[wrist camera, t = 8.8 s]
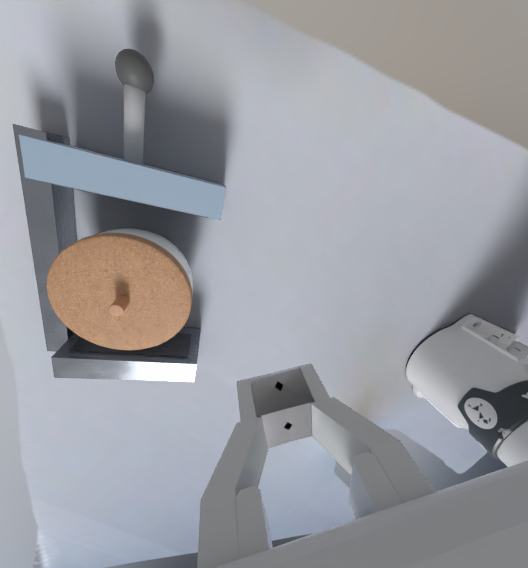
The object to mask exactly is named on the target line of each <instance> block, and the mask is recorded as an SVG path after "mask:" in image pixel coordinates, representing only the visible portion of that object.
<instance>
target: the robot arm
mask: <svg viewBox="0 0 528 568" xmlns="http://www.w3.org/2000/svg"><path fill="white" fill-rule="evenodd" d="M527 355H528V347H527V346H526V345H524V344H522V343H520V342H518V336H516V335H515V334H513V333H511V332H509V331H507V330H505V329H503V328H501V327H498V326H496V325H494V324H492V323H490V322H487V321H485V320H483V319H481V318H479V317H476V316H474V315H472V314H469V315H467V316H465V317H463V318H462V319H460V320H459V321H458V322H456V323H455V324H454V325H452V326H450V327H447V328H445V329H443V330H441V331H439V332H437V333H435V334H433V335H432V336H430V337H429V338H428V339H426V340H425V341H424V342H423V343H422V344H421V345H420V346H419V347H418V348H417V349H416V350H415V352H414V353H413V355H412V356H411V358H410V360H409V362H408V365H407V369H406V375H407V378H408V380H409V381H410V382H411V383H412V385H413V392H414V394H415V395H416V396H417V397H419V398H423V397H425V398H426V399H427V400H428V401H429V402H430V403H431V404H432V405H433V406H434V407H435V408H437V409H438V410H439V411H440V412H441V413H442V414H443V415H444V416H445V417H446V418H447V419H448V420H450V421H451V422H452V423H453V424H454V425H455V426H457V427H459V428H464V429H468V430H469V433H470V434H471V435H472V436H473V437H474V438H475V439H476V440H477V441H478V443H479V444H480V445H481V446H482V447H483V448H484V449H485V450H486V451H488V452H489V453H490V454H491V455H492V456H493V457H494V458H496V459H498V460H501V461H502V462H503V463H504V464H506V466H507V468H504V469H501V470H498V471H495V472H493V473H490V474H487V475H484V476H481V477H478V478H475V479H472V480H469V481H466V482H463V483H460V484H458V485H455V486H452V487H449V488H446V489H443V490H440V491H437V492H436V491H435V490H434V488H433V487H432V486H431V484H430V483H429V481H428V480H427V478H426V477H425V476H424V474H423V473H422V471H421V470H420V468H419V467H418V466H417V464H416V463H415V461H414V460H413V459H412V457H411V456H410V454H409V453H408V451H407V450H406V449H405V447H404V446H403V444H402V443H401V442H400V440H398V439H397V438H395V437H394V436H392V435H391V434H389V433H388V432H386V431H385V430H383V429H382V428H380V427H378V426H377V425H375V424H374V423H372V422H371V421H369V420H368V419H366V418H365V417H363V416H362V415H360V414H359V413H357V412H356V411H354V410H352V409H351V408H349V407H348V406H346V405H345V404H343V403H342V402H340V401H339V400H337V399H336V398H334V397H333V398H330V397H329V395H328V393H327V392H326V390H325V388H324V386H323V384H322V382H321V380H320V378H319V376H318V375H317V373H316V371H315V369H314V367H313V365H312V364H311V363H310V364H306V365H302V366H299V367H298V366H297V367H294V368H290V369H286V370H282V371H278V372H274V373H271V374H267V375H262V376H257V377H253V378H249V379H244V380H240V381H237V391H238V400H239V410H240V419H241V422H239V423H237V424H236V426H235V428H234V430H233V432H232V434H231V436H230V439H229V441H228V443H227V445H226V447H225V449H224V451H223V454H222V456H221V458H220V460H219V462H218V464H217V466H216V468H215V471H214V473H213V475H212V477H211V479H210V481H209V483H208V486H207V488H206V490H205V492H204V494H203V496H202V498H201V503H200V524H199V545H198V567H197V568H528V356H527ZM250 380H251V381H250ZM310 436H312V437H313V438H314V439H315V440H316V441H317V442H318V443H319V444H320V445H321V446H322V447H323V448H324V449H325V450H326V451H327V452H328V453H329V454H330V455H331V456H332V457H333V458H334V459H335V460H336V461H337V462H338V463H339V464H340V465H341V466H343V468H344V469H346V470H347V472H349V473H350V474H351V475H352V477H351V485H350V494H349V503H350V506H351V508H352V510H353V513H354V515H355V518H356V519H355V520H353V521H350V522H347V523H344V524H341V525H338V526H335V527H332V528H329V529H326V530H323V531H320V532H318V533H315V534H312V535H309V536H306V537H303V538H300V539H297V540H294V541H291V542H288V543H286V544H283V545H280V546H277V547H274V548H273V547H272V541H271V535H270V529H269V524H268V520H267V516H266V512H265V508H264V504H263V500H262V496H261V492H260V490H259V489H258V485H259V482H260V478H261V474H262V470H263V467H264V463H265V459H266V455H267V452H268V448H271V447H274V446H277V445H281V444H284V443H287V442H290V441H294V440H298V439H302V438H306V437H310Z"/></svg>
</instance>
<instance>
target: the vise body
mask: <svg viewBox="0 0 528 568" xmlns="http://www.w3.org/2000/svg"><path fill="white" fill-rule="evenodd" d="M13 130H14V136H15V143H16V149H17V156H18V163H19V169H20V176H21V182H22V189H23V195H24V202H25V208H26V215H27V221H28V228H29V235H30V241H31V248H32V254H33V261H34V267H35V274H36V280H37V287H38V294H39V300H40V307H41V313H42V320H43V326H44V333H45V339H46V346H47V351H56V353H55V354H54V355H53V356H52V357H51V358H52V365H53V372H54V378H87V379H120V380H153V381H187V382H194V378H195V372H196V366H197V357H198V348H199V339H200V331H201V329H200V328H189V327H182V329H181V330H180V331H179V332H178V333H177V334H176V335H175V336H174V337H172V338H171V339H169V340H168V341H166V342H164V343H162V344H159V345H157V346H154V347H150V348H146V349H141V350H117V349H111V348H107V347H103V346H99V345H97V344H94V343H92V342H90V341H88V340H86V339H84V338H82V337H80V336H79V335H77V334H76V333H74V332H73V331H72V330H70V329H69V328H68V327H67V326H66V325H65V324H64V323H63V322H62V321H61V320H60V318H59V317H58V316H57V314H56V313H55V311H54V310H53V308H52V306H51V303H50V300H49V298H48V293H47V275H48V272H49V268H50V266H51V264H52V262H53V261H54V259H55V258H56V257H57V255H58V254H59V253H60V252H61V251H62V250H64V249H65V248H66V247H68V246H69V245H70V244H72V243H74V242H76V241H77V238H76V225H75V211H74V198H73V189H72V188H68V187H63V186H58V185H54V184H52V183H48V182H43V181H39V180H34V179H30V178H25V174H24V167H23V160H22V153H21V146H20V139H19V135H23V136H27V137H32V138H37V139H42V140H47V141H51V142H56V143H61V144H66V145H70V143H69V138H65V137H62V136H58V135H54V134H50V133H46V132H43V131H39V130H35V129H31V128H27V127H23V126H19V125H15V124H13Z"/></svg>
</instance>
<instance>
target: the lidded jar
mask: <svg viewBox="0 0 528 568" xmlns="http://www.w3.org/2000/svg"><path fill="white" fill-rule="evenodd" d="M47 293H48V298H49V300H50V303H51V306H52V308H53V310H54V311H55V313H56V314H57V316H58V317H59V318H60V320H61V321H62V322H63V323H64V324H65V325H66V326H67V327H68V328H69V329H70V330H72V331H73V332H74V333H76V334H77V335H79V336H80V337H82V338H84V339H86V340H88V341H90V342H92V343H94V344H97V345H99V346H103V347H107V348H111V349H117V350H141V349H146V348H150V347H154V346H157V345H159V344H162V343H164V342H166V341H168V340H169V339H171V338H172V337H174V336H175V335H176V334H177V333H178V332H179V331H180V330H181V329H182V327H183V326H184V325H185V323H186V321H187V319H188V318H189V315H190V311H191V308H192V299H193V295H192V294H193V279H192V274H191V270H190V267H189V265H188V262H187V260H186V258H185V257H184V255H183V254H182V252H181V251H180V250H179V249H178V248H177V247H176V246H175V245H174V244H173V243H171V242H170V241H169V240H167V239H166V238H164V237H162V236H160V235H158V234H156V233H153V232H150V231H146V230H141V229H129V228H123V229H115V230H109V231H105V232H102V233H99V234H96V235H92V236H89V237H85V238H83V239H81V240H79V241H76V242H74V243H72V244H70V245H69V246H68V247H66V248H65V249H64V250H62V251H61V252H60V253H59V254H58V255H57V257H56V258H55V259H54V261H53V262H52V264H51V266H50V268H49V272H48V275H47Z"/></svg>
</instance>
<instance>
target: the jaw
mask: <svg viewBox="0 0 528 568" xmlns="http://www.w3.org/2000/svg"><path fill="white" fill-rule="evenodd" d="M115 66H116V72H117V75H118V77H119V79H120V81H121V82H122V83H123V85H124V130H123V159H121V158H118V157H114V156H110V155H106V154H102V153H98V152H94V151H90V150H87V149H83V148H79V147H75V146H70V145H66V144H61V143H56V142H51V141H47V140H42V139H37V138H32V137H27V136H23V135H19V139H20V146H21V153H22V160H23V167H24V174H25V178H30V179H34V180H39V181H43V182H48V183H52V184H54V185H58V186H63V187H68V188H72V189H77V190H81V191H86V192H91V193H95V194H100V195H105V196H109V197H114V198H118V199H123V200H128V201H132V202H137V203H142V204H146V205H151V206H155V207H160V208H165V209H169V210H174V211H179V212H183V213H188V214H192V215H197V216H202V217H206V218H208V217H209V218H214V219H219V220H221V216H222V210H223V204H224V198H225V192H226V187H225V185H222V184H218V183H214V182H211V181H207V180H203V179H199V178H195V177H191V176H187V175H183V174H180V173H176V172H172V171H168V170H164V169H160V168H156V167H152V166H149V165H145V164H143V153H144V124H145V96H146V93H148V92H149V91H150V90H151V88H152V86H153V82H154V76H153V71H152V68H151V66H150V64H149V62H148V61H147V60H146V58H145V57H144V56H143V55H142V54H140V53H139V52H137V51H135V50H132V49H124V50H122V51H120V52H119V53H118V55H117V57H116V61H115Z"/></svg>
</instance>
